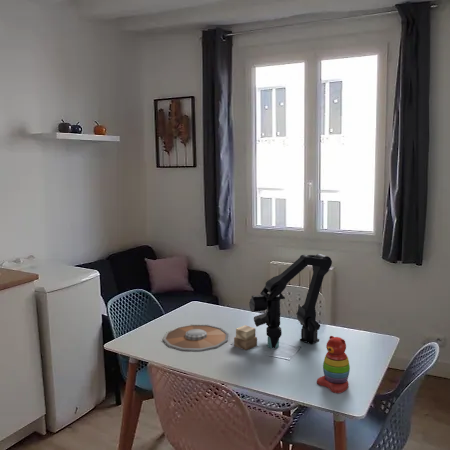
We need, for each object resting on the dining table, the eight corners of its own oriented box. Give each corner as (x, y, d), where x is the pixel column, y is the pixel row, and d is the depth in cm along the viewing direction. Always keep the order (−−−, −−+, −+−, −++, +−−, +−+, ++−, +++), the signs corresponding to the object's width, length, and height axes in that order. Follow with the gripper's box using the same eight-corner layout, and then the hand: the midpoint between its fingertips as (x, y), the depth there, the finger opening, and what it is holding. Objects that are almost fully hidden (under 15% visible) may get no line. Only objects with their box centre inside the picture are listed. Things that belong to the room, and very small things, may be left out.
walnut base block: (256, 346, 208) (256, 337, 208) (246, 350, 203) (246, 341, 203) (244, 341, 213) (244, 333, 212) (234, 346, 208) (234, 337, 207)
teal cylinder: (281, 346, 208) (281, 337, 207) (274, 349, 204) (274, 340, 204) (272, 342, 211) (272, 334, 210) (265, 346, 208) (265, 337, 207)
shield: (179, 317, 235) (237, 324, 226) (179, 323, 236) (237, 330, 226) (151, 340, 207) (215, 349, 198) (151, 347, 208) (216, 356, 198)
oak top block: (255, 337, 208) (255, 328, 207) (246, 341, 203) (246, 332, 203) (245, 333, 212) (245, 325, 211) (235, 337, 208) (236, 328, 207)
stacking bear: (314, 382, 174) (315, 336, 172) (333, 375, 180) (334, 330, 178) (336, 394, 166) (338, 346, 163) (356, 386, 171) (358, 339, 169)
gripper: (255, 302, 215) (254, 335, 217) (254, 316, 196) (254, 352, 199) (279, 302, 214) (279, 335, 216) (281, 316, 196) (281, 352, 198)
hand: (273, 343), depth 207 cm, fingers open, 9 cm apart
